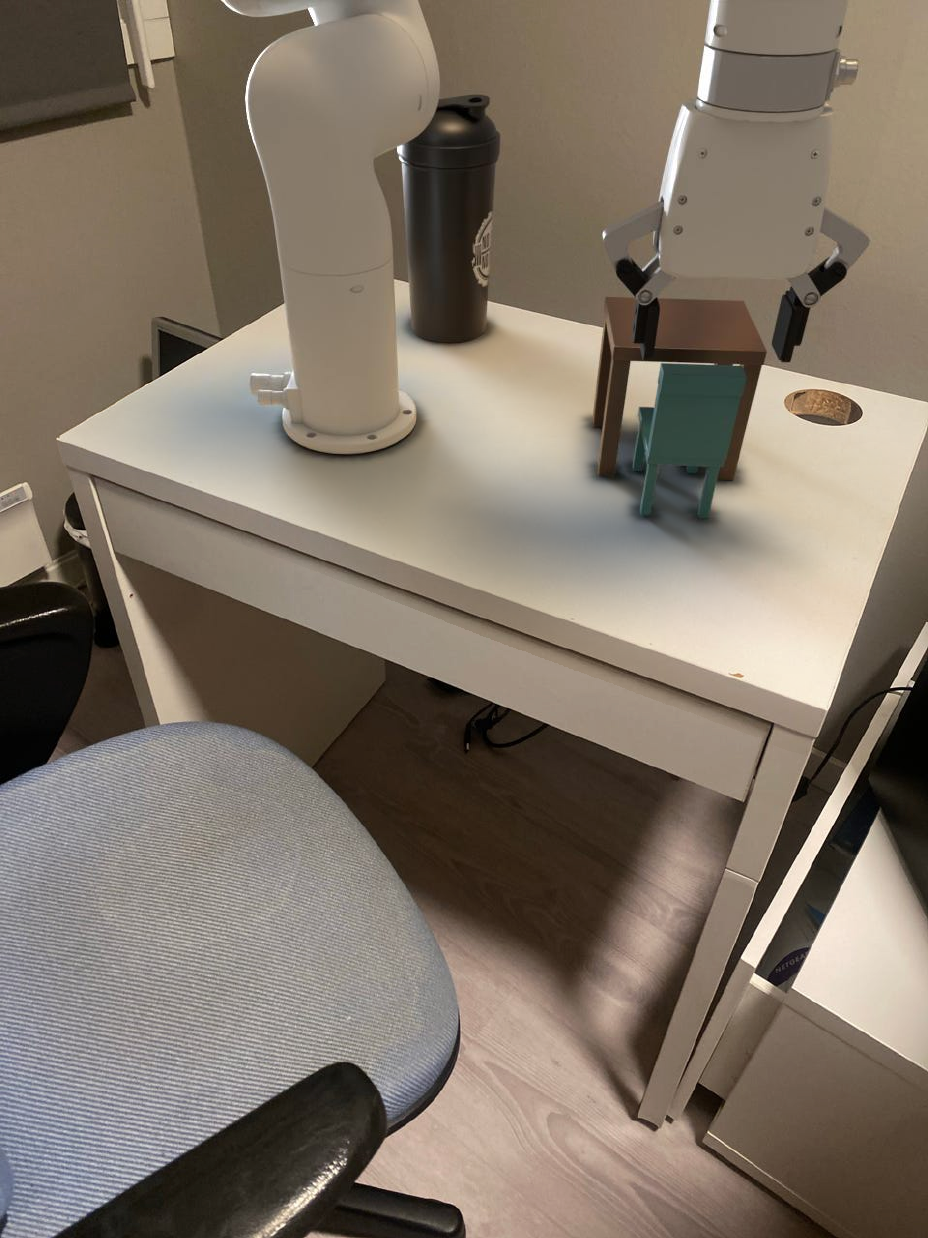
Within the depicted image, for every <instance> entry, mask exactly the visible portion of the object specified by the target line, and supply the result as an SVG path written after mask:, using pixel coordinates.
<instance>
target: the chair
mask: <svg viewBox="0 0 928 1238" xmlns="http://www.w3.org/2000/svg"><path fill="white" fill-rule="evenodd" d="M658 372H659V373H658V378H657V390H656V395H655V402H654V407H652V406H649V407H648V406H638V409H637V418H638V427H637V434H636V441H635V447H634V454H633V460H632V466H631V467H632V471H633V472H642V471H643V468H644V460H645V459H646V460H645V461H646V470H645V476H644V480H643V481H644V482H643V488H642V493H641V500H640V505H639V514H640V516H647V517H648V516H649V517H650V516H651V513H652V512H651V511H652V508H653V507H652V506H653V501H654V495H655V491H656V484H657V478H658V472H659V466H677V467H678V466H680V467H686V472H687V474H697V472H698V468H699V467H706V472H705V477H704V481H703V484H702V490H701V494H700V499H699V504H698V508H697V517H698V518H700V519H705V518H706V519H708V518H709V516H710V512H711V507H712V504H713V500H714V494H715V491H716V486H717V483H718V474H719V469H720V467H723V466H724V462H725V460H726V457H727V452H728V448H729V444H730V440H731V436H732V431H733V427H734V423H735V419H736V414H737V410H738V406H739V402H740V398H741V397H742V394H743V390H744V386H745V382H746V378H747V377H746V374H745V372H744V369H743V367H742V366H740V365H736V364H733V365H714V364H705V363H673V362H660V366H659V371H658Z"/></svg>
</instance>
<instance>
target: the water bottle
mask: <svg viewBox="0 0 928 1238" xmlns="http://www.w3.org/2000/svg"><path fill="white" fill-rule="evenodd" d="M490 100H491V98H490V96H488V95H484V94H466V95H459V96H451V97H446V98H439V101H438V105H437V108H436V111H435V114H434V116H433V118H432V120H431V122H430V123H429V125H428V126H427V127H426V128H425V129H424V131H422V132H421V133H420V134H419V135H418V136H417V137H415V138H414V139H412V140H410V141H409V142H407V143H405V144H403V145H401V146H398V147H396V148H397V150H396V151H397V155H398V159H399V161H400V162H401V173H402V189H403V207H404V223H405V224H404V225H405V240H406V241H405V242H406V257H407V258H406V259H407V274H408V275H407V276H408V277H407V278H408V293H409V307H410V308H409V309H410V311H409V312H410V322H411V323H410V326H411V331H412V332H413V333H414V334H415V335H416V336H418V337H420V338H421V339H424V340H427V341H431V342H435V343H442V344H444V343H445V344H450V343H452V344H453V343H454V344H455V343H464V342H468V341H472V340H474V339H475V340H476V339H477V338H479V337H480V336H482V335H483V334H484V333H485V332H486V329H487V319H488V318H487V317H488V301H489V300H488V298H489V285H490V284H489V283H490V274H491V273H490V272H491V259H492V258H491V255H492V242H493V241H492V239H493V225H494V223H493V221H494V206H495V205H494V197H495V180H496V165H497V162H498V160H499V156H500V154H501V133H500V132H499V131H498V130H497V128H496V125H495V123H494V121H493V120H492V118H491V117H490V116H489V115H488V114H486V109H487V108H488V107H489V105H490V102H491V101H490Z"/></svg>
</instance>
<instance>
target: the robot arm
mask: <svg viewBox="0 0 928 1238" xmlns="http://www.w3.org/2000/svg"><path fill="white" fill-rule="evenodd" d="M221 1H222V2H223V3H224V4H225V5H226V6H227V7H228V8H229V9H230V10H232V11H233V12H235V13H238V14H240V15H242V16H247V17H252V18H264V17H273V16H281V15H287V14H291V13H296V12H299V11H304V10H308V11H309V14H310V16H311V18H312V20H313V22H314V25H312V26H308V27H305V28H299V29H297V30H294V31H290V32H289V33H286V34H285V35H282V36H281V37H279V38H278V39H276V40H274V41H272V42H271V43H270V44H269V45H268V46H267V47H266V48H265V49H264V50H263V51H262V52H261V53H260V54H259V56H258V58H257V59H256V60H255V62H254V63H253V66H252V67H251V71H250V73H249V75H248V79H247V83H246V91H245V108H246V117H247V122H248V126H249V130H250V133H251V137H252V141H253V144H254V146H255V150H256V153H257V156H258V159H259V162H260V163H259V164H260V166H261V169H262V172H263V177H264V180H265V184H266V188H267V193H268V197H269V203H270V209H271V213H272V218H273V226H274V227H273V228H274V233H275V241H276V249H277V255H278V256H277V257H278V261H279V262H278V263H279V269H280V278H281V286H282V291H283V292H282V293H283V301H284V309H285V318H286V325H287V332H288V333H287V334H288V340H289V348H290V356H291V357H290V358H291V364H292V371H284V373H283V375H279V374H278V375H277V374H276V375H274V374H270V373H252V374H251V375H250V378H249V386H250V387H249V388H250V392H251V394H252V395H255V396H257V403H258V405H259V406H283V409H282V414H281V418H282V425H283V429H284V432H285V433H286V435H287V436H288V437H289V438H290V439H291V440H292V441H293V442H295V443H297V444H299V445H300V446H302V447H304V448H307V449H309V450H313V451H315V452H320V453H327V454H334V455H335V454H336V455H355V454H364V453H369V452H370V453H371V452H374V451H375V452H376V451H377V450H382V449H385V448H388V447H390V446H393V445H395V444H396V443H398V442H400V441H402V440H403V439H404V438H405V437H407V435H409V434H410V433H412V430H413V429H414V427H415V426H416V422H417V407H416V403H415V402H414V400H413V398H412V397H411V396H409V394H407V393H406V392H405V391H403V390H401V389H400V387H399V365H398V364H399V363H398V340H397V339H398V338H397V320H396V319H397V317H396V292H395V271H394V270H395V268H394V249H393V247H394V246H393V232H392V231H393V229H392V222H391V215H390V212H389V208H388V204H387V201H386V198H385V195H384V193H383V191H382V188H381V186H380V183H379V180H378V177H377V174H376V171H375V163H374V161H375V160H374V159H376V158H378V157H380V156H381V155H383V154H385V153H387V152H390V151H392V150H394V149H396V148H397V147H398V146H401V145H403V144H405V143H407V142H409V141H410V140H412V139H414V138H415V137H417V136H418V135H419V134H420V133H421V132H422V131H424V129H425V128H426V127H427V126H428V125H429V123H430V122H431V120H432V118H433V116H434V114H435V111H436V108H437V105H438V101H439V99H440V93H441V79H440V70H439V69H440V68H439V63H438V58H437V53H436V50H435V47H434V43H433V40H432V37H431V33H430V30H429V28H428V25H427V22H426V19H425V17H424V13H423V11H422V8H421V5H420V2H419V0H221ZM849 1H850V0H710V2H709V9H708V16H707V22H706V29H705V37H704V47H703V53H702V59H701V65H700V72H699V73H700V74H699V80H698V87H697V93H696V98H691V99H687V100H685V101H683V102H682V104H681V107H680V110H679V113H678V115H677V118H676V122H675V126H674V129H673V133H672V136H671V140H670V145H669V149H668V153H667V157H666V162H665V166H664V171H663V176H662V181H661V186H660V192H659V196H658V202H656V203H654V204H652V205H650V206H647V207H646V208H644V209H642V210H640V211H637V212H635V213H633V214H632V215H629V216H628V217H626V218H624V219H621V220H620V221H618V222H615V223H614V224H612V225H609V226H607V227H606V228H605V229H603V231H602V235H601V236H602V241H603V246H604V247H605V250H606V252H607V255H608V257H609V260H610V262H611V265H612V266H613V269H614V272H615V275H616V277H617V278H618V280H619V281H620V282H621V283H622V284H623V285H624V286H625V287H626V288H627V290H628V291H629V292H630V293H631V294H632V295H633V296H634V298H636V304H635V312H634V320H633V329H632V342H633V343H637V344H639V346H640V350H641V355H642V359H643V360H650V359H651V358H653V357H654V350H655V343H656V336H657V328H658V321H659V314H660V305H659V301H658V298H659V295H660V294H661V293H663V291H664V290H665V289H667V288H668V287H669V285H670V284H672V282H673V281H675V279H690V280H739V281H740V280H741V281H742V280H743V281H746V280H747V281H751V280H753V281H757V280H758V281H773V280H774V281H776V280H778V281H779V280H787V282H788V283H789V284H790V287H789V290H785V292H784V294H782V295H781V300H780V304H779V309H778V312H777V317H776V322H775V327H774V330H773V335H772V339H771V346H772V349H773V350H774V353H775V355H776V357H777V360H778V361H780V362H781V363H791V361H792V359H793V354H794V349H795V347H800V346H801V345H802V342H803V339H804V335H805V331H806V328H807V323H808V320H809V315H810V312H811V308H814V307H815V306H817V305H818V303H819V302H820V301H821V297H823V296H824V295H825V294H826V293H827V292H829V291H830V290H832V289H833V288H835V286H836V285H838V284H839V283H841V282H842V281H843V280H844V279H845V278H846V277H847V273H848V271H849V269H850V268H852V267H853V266H854V265H855V264H856V262H857V261H858V260H859V258H860V257H861V256H862V254H863V253H864V252H865V251H866V250H867V249H868V247H869V245H870V242H871V241H870V237H869V236H868V235H867V234H866V233H865V232H864V231H863V229H861V228H859V227H857V226H856V225H855V224H854V223H852V222H850V221H848V220H847V219H845V218H843V217H842V216H840V215H839V214H837V213H835V212H834V211H832V210H831V209H829V208H828V207H826V200H827V193H828V186H829V179H830V178H829V177H830V171H831V161H832V150H833V141H834V140H833V139H834V138H833V137H834V119H835V117H834V112H835V111H834V109H833V108H832V106H831V104H829V103H827V102H830V100H831V94H832V93H833V92H834V90H835V88H840V87H841V86H853V85H854V83H855V82H856V79H857V76H858V72H859V60H858V58H847V57H846V56H842V54H841V50H840V49H839V46H840V45H839V44H840V40H841V37H842V31H843V27H844V22H845V18H846V14H847V10H848V4H849ZM651 233H653V235H652V236H653V237H652V246H653V251H654V252H656V254H655V255H654V256H653V257H652V258H651V259H650V261H649V262H648V263H647V264H646V265H645V266H643V268H642V269H641V268H640V266H639V265H638V264H637V263H636V261H635V260H634V259H633V258H632V256H631V255H630V253H629V249H628V247H629V245H630V244H631V243H633V242H635V241H637V240H639V239H641V238H643V237H646V236H647V235H650V234H651ZM820 234H822V235H824V236H826V237H827V238H828V239H831V240H832V241H834V242H835V243H837V245H836V247H835V249H834V250H833V251H832V254H831V255H830V256H829V257H827V258H825V259H824V260H823V261H821V262H820V263H819V264H818V265H816V266H815V267H813V269H811V270H810V271H809V272H807V271H808V270H809V268H810V267H811V265H812V262H813V261H814V257H815V254H816V250H817V247H818V243H819V238H820Z"/></svg>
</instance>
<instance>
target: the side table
mask: <svg viewBox="0 0 928 1238" xmlns="http://www.w3.org/2000/svg"><path fill="white" fill-rule="evenodd" d="M657 298H658V301H659V305H660V314H659V321H658V328H657V336H656V343H655V350H654V357H653V358H651V359H650V360H643V359H642V355H641V350H640V346H639V344H637V343H633V342H632V329H633V320H634V312H635V304H636V297H629V296H628V297H623V296H605V298H604V306H603V311H604V318H603V325H602V334H601V344H600V352H599V360H598V369H597V377H596V386H595V395H594V402H593V410H592V411H593V412H592V427H594V428H602V429H601V435H600V436H601V437H600V444H599V453H598V460H597V471H598V472H597V473H598V474H597V475H598V476H608V477H611V476H612V477H615V475H616V467H617V460H618V452H619V446H620V439H621V433H622V426H623V419H624V411H625V403H626V398H627V392H628V385H629V384H628V383H629V377H630V369H631V363H632V362H650V363H652V362H653V363H677V364H709V365H739V366H742V367H743V369H744V372H745V374H746V377H747V378H746V382H745V386H744V390H743V394H742V397H741V398H740V402H739V406H738V410H737V414H736V419H735V423H734V427H733V431H732V436H731V440H730V444H729V448H728V452H727V457H726V460H725V462H724V466H723V467H720V469H719V474H718V478H717V480H720V481H721V480H723V481H724V480H726V481H734V479H735V476H736V471H737V467H738V463H739V459H740V455H741V452H742V448H743V443H744V440H745V435H746V431H747V428H748V423H749V419H750V415H751V411H752V407H753V403H754V399H755V396H756V391H757V387H758V382H759V379H760V374H761V371H762V366H764V365H765V362H766V357H767V353H768V351H767V348H766V347H765V344H764V342H763V340H762V338H761V336H760V334H759V331H758V329H757V327H756V324H755V322H754V320H753V318H752V315H751V313H750V312H749V309H748V306H747V305H746V302H745V300H728V299H727V300H726V299H724V300H723V299H697V298H696V299H695V298H694V299H693V298H665V297H664V298H661V297H657Z"/></svg>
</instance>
